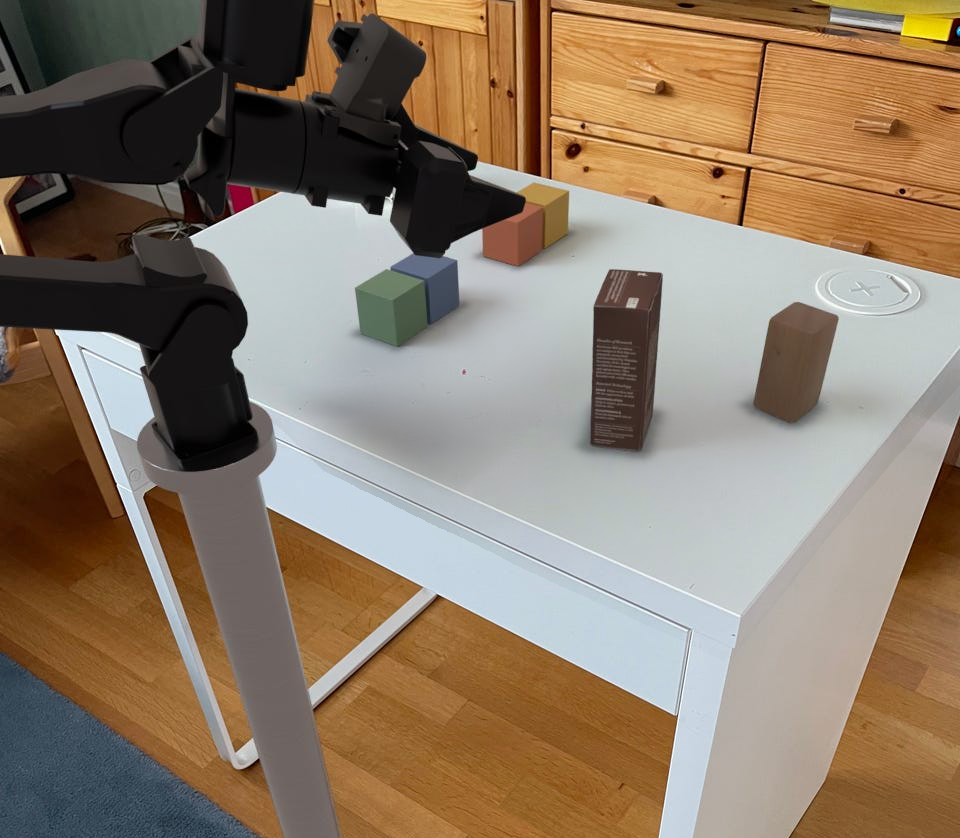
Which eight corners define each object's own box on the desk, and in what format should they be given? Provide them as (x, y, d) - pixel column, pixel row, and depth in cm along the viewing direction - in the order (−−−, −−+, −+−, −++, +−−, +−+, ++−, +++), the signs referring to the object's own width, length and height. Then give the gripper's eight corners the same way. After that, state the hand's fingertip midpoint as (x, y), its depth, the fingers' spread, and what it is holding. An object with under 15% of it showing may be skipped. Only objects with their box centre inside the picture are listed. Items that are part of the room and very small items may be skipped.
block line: (397, 346, 90) (393, 300, 86) (360, 333, 91) (354, 287, 88) (568, 233, 106) (569, 190, 102) (533, 224, 108) (533, 182, 104)
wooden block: (750, 408, 81) (767, 316, 75) (777, 388, 83) (796, 298, 77) (793, 426, 79) (814, 333, 73) (819, 405, 81) (841, 314, 75)
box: (599, 406, 81) (608, 265, 73) (653, 414, 80) (669, 271, 72) (584, 447, 77) (591, 303, 69) (641, 455, 76) (655, 309, 68)
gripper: (354, 49, 55) (589, 101, 62) (277, -20, 67) (480, 29, 74) (323, 246, 62) (538, 273, 69) (258, 151, 74) (446, 182, 81)
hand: (499, 182), depth 73 cm, fingers open, 9 cm apart
